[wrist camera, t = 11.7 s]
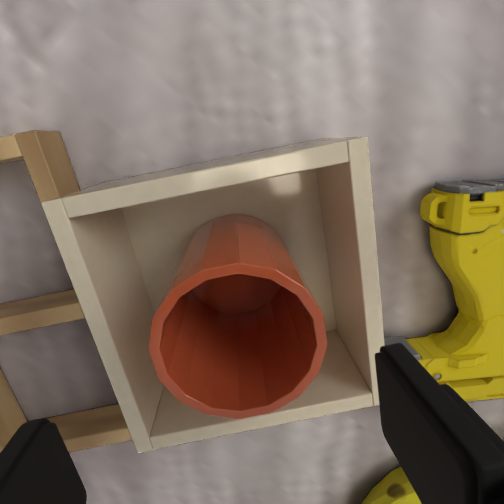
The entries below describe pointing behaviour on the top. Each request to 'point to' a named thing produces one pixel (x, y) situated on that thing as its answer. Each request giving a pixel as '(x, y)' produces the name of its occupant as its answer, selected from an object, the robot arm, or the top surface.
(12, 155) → the rack
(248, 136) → the top surface
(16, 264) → the top surface
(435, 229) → the toy gun
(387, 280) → the top surface
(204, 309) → the cup
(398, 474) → the banana
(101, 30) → the top surface
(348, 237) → the open wooden box
